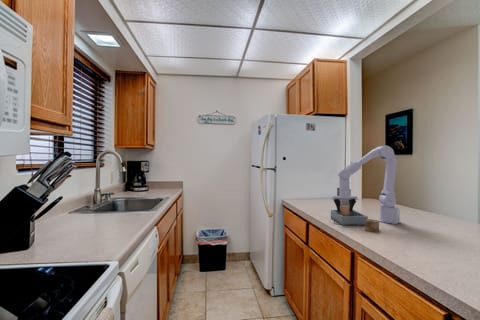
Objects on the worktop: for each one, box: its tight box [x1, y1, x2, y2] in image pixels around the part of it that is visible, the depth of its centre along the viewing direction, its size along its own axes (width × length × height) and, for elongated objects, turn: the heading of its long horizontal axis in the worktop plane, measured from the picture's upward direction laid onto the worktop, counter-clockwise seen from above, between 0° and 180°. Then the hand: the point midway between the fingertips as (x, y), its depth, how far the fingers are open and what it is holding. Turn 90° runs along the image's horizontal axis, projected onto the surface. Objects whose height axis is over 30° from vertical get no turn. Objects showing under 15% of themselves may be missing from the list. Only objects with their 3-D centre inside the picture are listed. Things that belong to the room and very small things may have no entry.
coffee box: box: [336, 187, 352, 206], centre depth 172 cm, size 9×6×16 cm
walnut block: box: [364, 218, 380, 233], centre depth 126 cm, size 5×5×5 cm
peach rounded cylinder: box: [340, 206, 349, 216], centre depth 148 cm, size 5×5×7 cm
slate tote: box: [330, 209, 369, 227], centre depth 144 cm, size 18×14×5 cm
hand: (344, 211), depth 148 cm, fingers open, 7 cm apart
